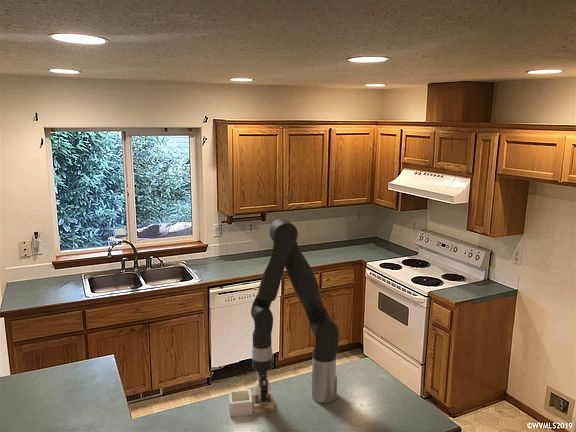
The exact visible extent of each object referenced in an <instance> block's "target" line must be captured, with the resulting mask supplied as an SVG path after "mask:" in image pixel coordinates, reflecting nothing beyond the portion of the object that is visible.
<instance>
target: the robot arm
mask: <svg viewBox="0 0 576 432" xmlns="http://www.w3.org/2000/svg"><path fill="white" fill-rule="evenodd" d="M298 233H299V232H298V229H297V227H296V226H295V225H294V224H293V223H292V222H290V221H289V220H287V219H284V218H277V219H275V220H274V221H272V223H271V224H270V227H269V236H270V238H271V240H272V242H273V244H272V245H273V246H272V252H271V256H270V258H269V262H268V264H267V266H266V268H265V269H264V271H263V274H262V276H261V280H260V283H259V287H258V291H257V294H256V296H255V298H254V300H253V301H252V305H251V309H250V316H251V318H252V320H253V322H254V330H253V332H252V350H251V354H252V355H251V356H252V357H251V358H252V361H251V363H252V364H251V365H252V366H251V367H252V369H253V370H254V371H255V372H256V377H257V380H258V382H259V387H260V393H261V402H266V403H267V402H268V401H267V394H268V381H269V380H268V378H269V373H268V371H270V370H271V369H272V368H273V347H272V331H273V326H274V316H273V312H272V310H271V309H270V308H271V304H272V303H273V302H274V301H275V300H276V298H277V296H278V292H279V289H280V284H281V282H282V277H283V275H284V272H285V270H286V273H287V276H288V278H289V281H290V283H291V286H292V288H293V290H294V293H295V294H296V296H297V298H298V300H299V302H300V303H301V305H302V307H303V308H304V311H305V313H306V317H307V320H308V323H309V327H310V330H311V332H312V334H313V336H314V337H315V338H314V339H315V340H314V347H313V349H312V352H311V354H312V355H311V356H312V359H311V360H312V362H311V364H312V365H311V366H312V368H311V369H312V371H311V377H312V378H311V397H312V400H314V401H315V402H317V403H320V404H321V403H322V404H328V403H331V402H333V401H337V398H338V376H337V373H336V372H337V371H336V369H337V354H338V351H339V337H340V336H339V335H340V332H339V327H338V325H337V324H336V323H335V321H334V320H333V319H332V317H331V316H330V315H329V313H328V311H327V309H326V307H325V305H324V303H323V301H322V298H321V291H320V287H319V283H318V281H317V278H316V275H315V273H314V271H313V269H312V268H311V265H310V264H309V262H308V260H307V259H306V258H305V256H304V255H303V253H302V251H301V250H300V247H299V245H298V242H297V239H298V236H299V235H298ZM260 383H261V384H260ZM263 389H265V390H263Z"/></svg>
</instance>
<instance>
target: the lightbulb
mask: <svg viewBox="0 0 576 432" xmlns="http://www.w3.org/2000/svg"><path fill="white" fill-rule="evenodd" d="M260 384H261V383H260ZM253 385H254V387H253V389H254V392H255V393H256V394H257V395H258V398H259V402H258V404H262V403H267V401H266V402H261V393H260V387H259V382H258V379H257V380H256V381H255V383H254V384H253ZM271 389H272V386H271V382H270V381H269V380H268V394H269V392H271ZM263 390H265V389H263ZM268 394H267V395H268Z"/></svg>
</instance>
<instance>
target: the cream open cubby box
mask: <svg viewBox="0 0 576 432" xmlns="http://www.w3.org/2000/svg"><path fill="white" fill-rule="evenodd" d="M251 394H252V392H251V388H246V389H237V390H236V389H235V390H228V405H229V406H228V407H229V416H232V417H233V415H234V416H241V415H249V414H250V415H251V414H254V413H253V405H252V396H251Z"/></svg>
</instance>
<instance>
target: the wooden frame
mask: <svg viewBox="0 0 576 432" xmlns="http://www.w3.org/2000/svg"><path fill="white" fill-rule="evenodd" d="M251 396H252V405H253V414H259V413H268V412H270V413H271V412H275V411H276V410H275V401H274V396H273V392H272V391H270V392H269V394H268V395H267V401H266V403H262V404H259V402H258V401H259V398H258V395H257V394H256V392H255V393H251ZM268 401H269V402H268ZM257 402H258V403H257Z"/></svg>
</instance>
